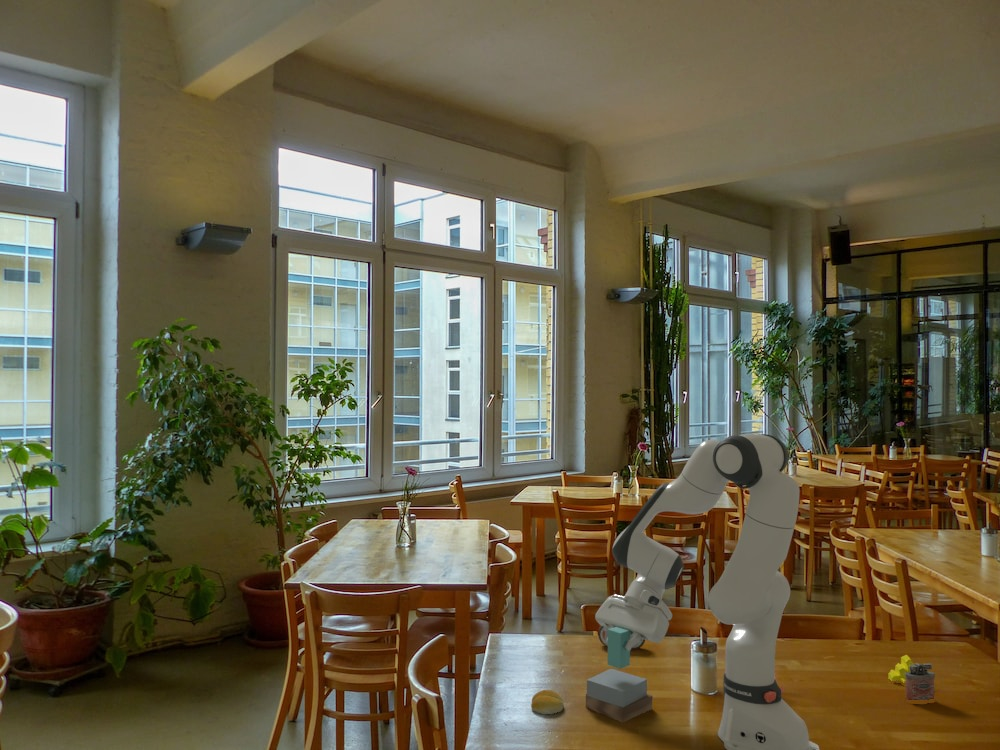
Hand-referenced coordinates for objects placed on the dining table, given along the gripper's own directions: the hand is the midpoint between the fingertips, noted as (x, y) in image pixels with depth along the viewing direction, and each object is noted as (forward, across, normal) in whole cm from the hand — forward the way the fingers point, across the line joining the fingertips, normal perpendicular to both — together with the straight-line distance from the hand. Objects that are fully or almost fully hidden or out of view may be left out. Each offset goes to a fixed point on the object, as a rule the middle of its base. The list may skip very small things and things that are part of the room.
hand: (617, 646), depth 199 cm
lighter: (-34, +50, +57) cm, 83 cm away
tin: (-16, -29, +39) cm, 51 cm away
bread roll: (+21, -12, +3) cm, 24 cm away
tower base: (+11, 0, +12) cm, 17 cm away
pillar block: (+3, 0, +4) cm, 5 cm away
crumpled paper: (-43, +42, +65) cm, 88 cm away
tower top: (+9, 0, +9) cm, 13 cm away
